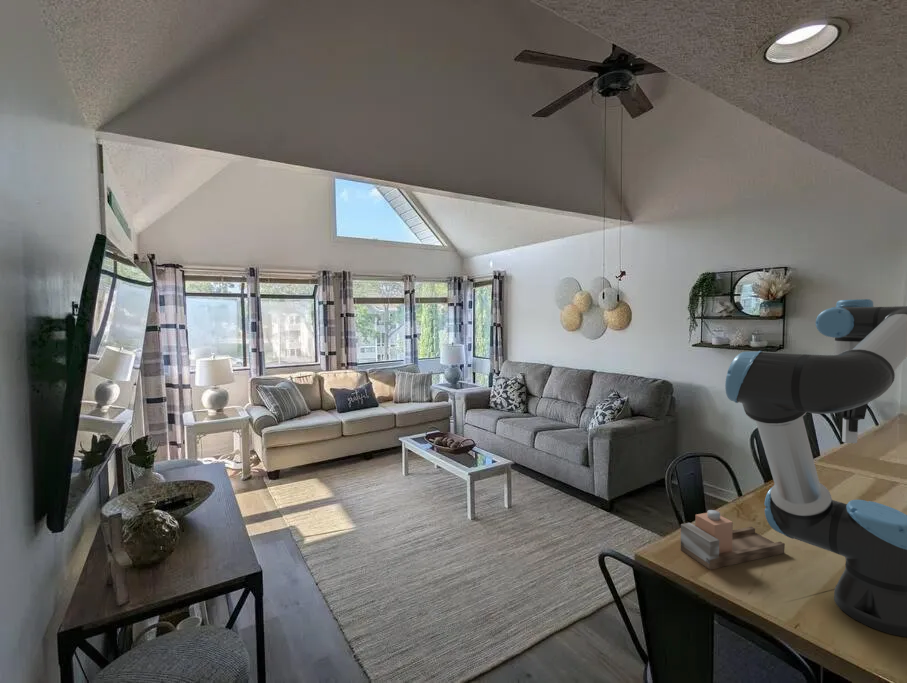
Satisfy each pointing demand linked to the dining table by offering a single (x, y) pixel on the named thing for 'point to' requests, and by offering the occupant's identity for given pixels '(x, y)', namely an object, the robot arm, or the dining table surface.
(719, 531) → the block
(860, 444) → the dining table surface
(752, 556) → the track
